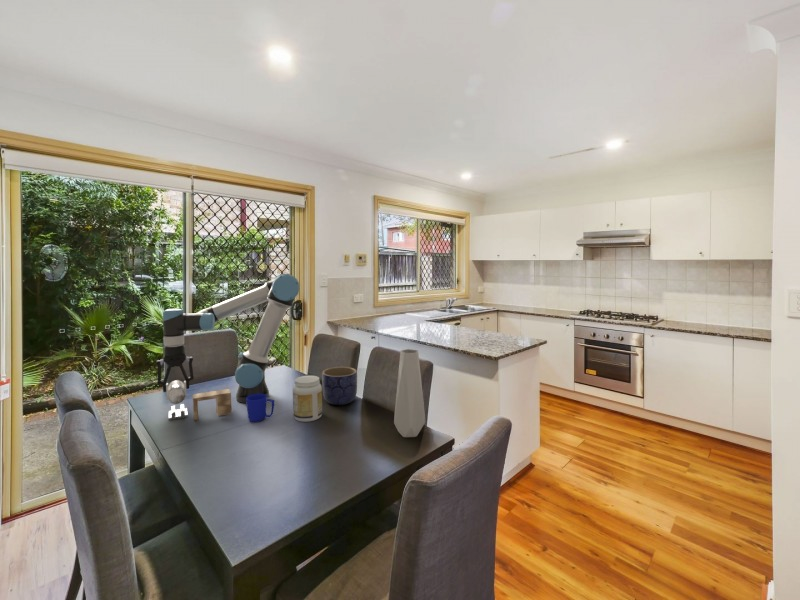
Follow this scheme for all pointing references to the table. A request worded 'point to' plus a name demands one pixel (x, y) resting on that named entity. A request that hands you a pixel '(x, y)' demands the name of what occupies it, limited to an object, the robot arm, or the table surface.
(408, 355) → the vase
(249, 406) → the mug
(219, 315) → the robot arm
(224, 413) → the wooden block with opening
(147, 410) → the table surface
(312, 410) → the supplement tub
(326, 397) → the planter
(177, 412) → the v block
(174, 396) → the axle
